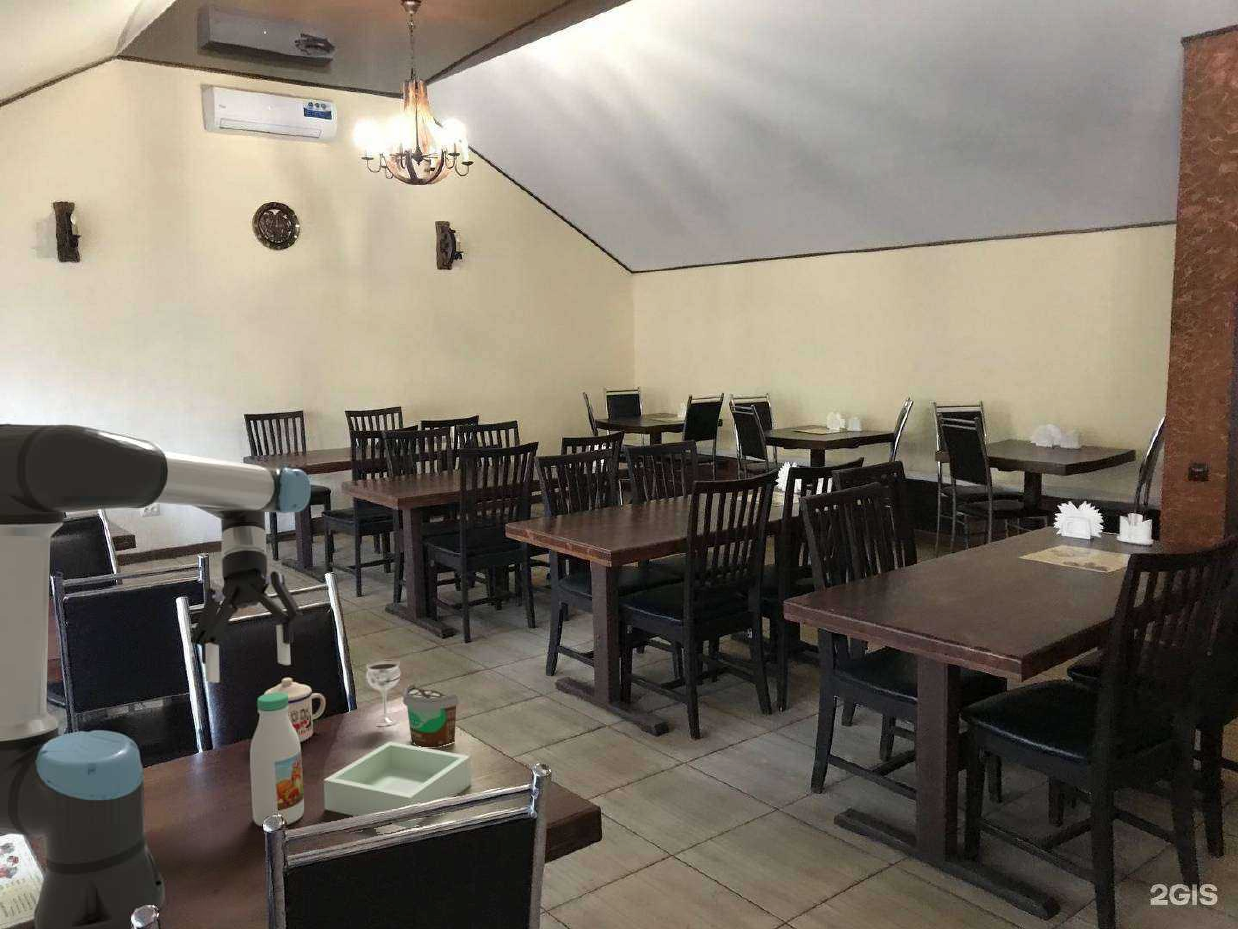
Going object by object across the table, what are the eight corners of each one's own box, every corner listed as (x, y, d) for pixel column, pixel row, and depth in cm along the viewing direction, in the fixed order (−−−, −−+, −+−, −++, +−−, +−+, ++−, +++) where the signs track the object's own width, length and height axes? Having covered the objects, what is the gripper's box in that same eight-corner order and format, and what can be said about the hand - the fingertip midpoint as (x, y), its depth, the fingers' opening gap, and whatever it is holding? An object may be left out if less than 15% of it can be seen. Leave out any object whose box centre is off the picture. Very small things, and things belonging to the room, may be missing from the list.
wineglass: (360, 725, 191) (358, 667, 190) (383, 714, 198) (380, 657, 196) (388, 730, 189) (385, 671, 187) (409, 719, 195) (407, 661, 193)
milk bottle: (258, 833, 147) (251, 708, 145) (248, 814, 154) (241, 694, 152) (309, 820, 151) (303, 698, 149) (297, 802, 158) (291, 685, 156)
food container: (390, 742, 183) (388, 691, 182) (414, 731, 188) (412, 682, 187) (436, 756, 176) (434, 703, 175) (460, 745, 181) (458, 693, 180)
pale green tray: (411, 828, 148) (410, 797, 148) (325, 809, 155) (323, 779, 155) (471, 784, 164) (470, 756, 163) (390, 768, 171) (389, 741, 170)
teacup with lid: (276, 750, 180) (273, 690, 178) (257, 737, 186) (254, 679, 185) (336, 733, 188) (333, 675, 186) (316, 721, 194) (313, 665, 193)
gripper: (318, 544, 173) (326, 659, 165) (195, 577, 177) (196, 691, 168) (296, 533, 166) (303, 652, 158) (169, 567, 170) (169, 686, 161)
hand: (248, 672), depth 163 cm, fingers open, 13 cm apart
